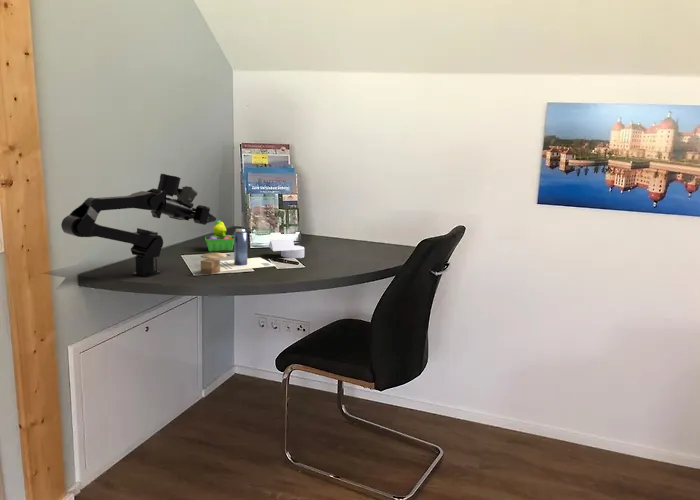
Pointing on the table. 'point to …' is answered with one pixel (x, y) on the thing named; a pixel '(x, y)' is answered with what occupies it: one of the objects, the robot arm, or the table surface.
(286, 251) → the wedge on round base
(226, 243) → the fruit basket
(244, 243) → the flask
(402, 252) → the table surface
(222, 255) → the coaster
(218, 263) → the cube
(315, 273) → the table surface
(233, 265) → the letter
